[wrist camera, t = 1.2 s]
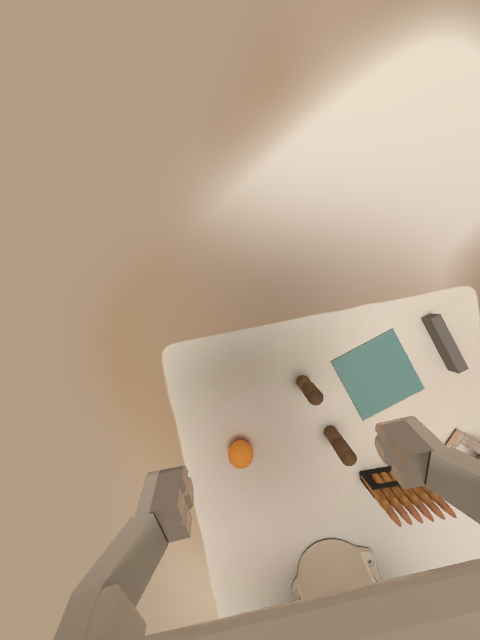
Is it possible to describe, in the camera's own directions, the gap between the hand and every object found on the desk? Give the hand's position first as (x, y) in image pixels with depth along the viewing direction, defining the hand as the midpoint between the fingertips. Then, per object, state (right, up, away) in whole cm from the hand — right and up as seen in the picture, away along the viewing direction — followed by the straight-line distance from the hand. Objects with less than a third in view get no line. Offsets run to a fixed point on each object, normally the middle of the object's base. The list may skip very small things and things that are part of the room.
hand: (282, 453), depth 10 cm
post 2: (+17, -18, +40) cm, 47 cm away
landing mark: (+26, -6, +39) cm, 48 cm away
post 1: (+11, -7, +40) cm, 42 cm away
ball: (-2, -21, +38) cm, 44 cm away
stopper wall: (+39, +1, +39) cm, 55 cm away
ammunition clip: (+29, -26, +41) cm, 56 cm away
